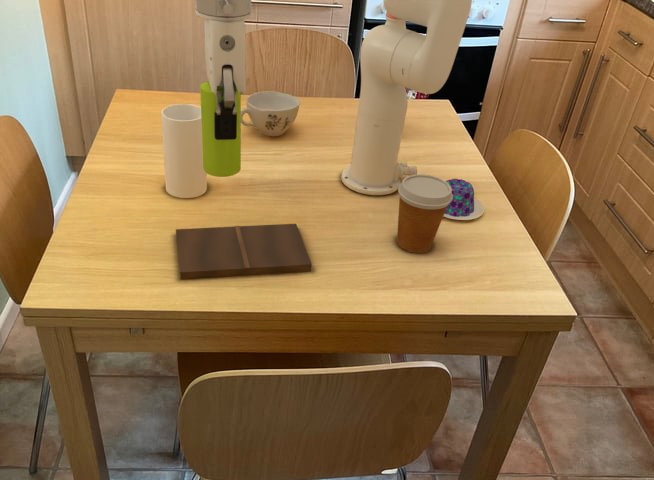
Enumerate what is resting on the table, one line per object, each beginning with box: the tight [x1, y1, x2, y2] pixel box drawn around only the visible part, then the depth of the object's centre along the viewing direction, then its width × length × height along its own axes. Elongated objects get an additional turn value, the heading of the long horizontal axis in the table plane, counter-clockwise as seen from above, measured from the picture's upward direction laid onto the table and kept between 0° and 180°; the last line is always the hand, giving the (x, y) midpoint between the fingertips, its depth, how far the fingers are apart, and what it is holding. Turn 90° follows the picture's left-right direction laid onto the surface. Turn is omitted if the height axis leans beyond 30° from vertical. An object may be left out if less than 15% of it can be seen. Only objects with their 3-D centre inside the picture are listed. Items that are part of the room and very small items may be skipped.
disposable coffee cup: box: [396, 173, 453, 254], centre depth 112 cm, size 10×10×12 cm
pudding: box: [443, 178, 485, 221], centre depth 126 cm, size 12×12×5 cm
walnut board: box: [175, 223, 313, 280], centre depth 109 cm, size 22×13×2 cm, turn 101°
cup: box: [160, 103, 208, 199], centre depth 122 cm, size 8×8×16 cm
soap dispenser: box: [199, 41, 242, 178], centre depth 93 cm, size 6×7×20 cm
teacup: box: [241, 90, 301, 137], centre depth 148 cm, size 15×12×8 cm
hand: (222, 128), depth 95 cm, fingers closed on soap dispenser, 6 cm apart
